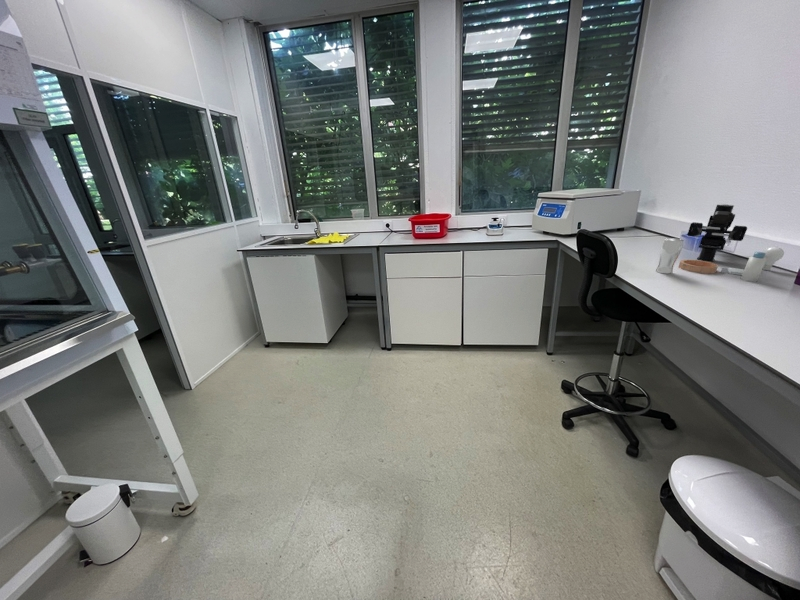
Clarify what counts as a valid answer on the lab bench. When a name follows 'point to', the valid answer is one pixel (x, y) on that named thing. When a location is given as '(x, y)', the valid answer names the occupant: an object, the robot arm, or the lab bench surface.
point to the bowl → (698, 266)
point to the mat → (727, 271)
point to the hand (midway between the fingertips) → (714, 234)
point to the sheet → (736, 271)
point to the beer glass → (669, 255)
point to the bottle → (754, 267)
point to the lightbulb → (772, 256)
